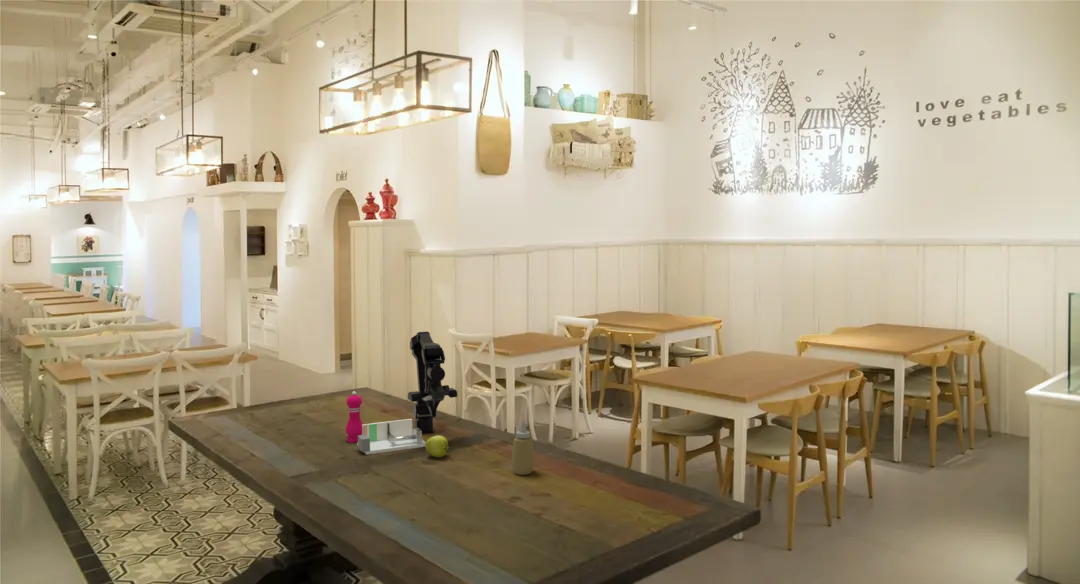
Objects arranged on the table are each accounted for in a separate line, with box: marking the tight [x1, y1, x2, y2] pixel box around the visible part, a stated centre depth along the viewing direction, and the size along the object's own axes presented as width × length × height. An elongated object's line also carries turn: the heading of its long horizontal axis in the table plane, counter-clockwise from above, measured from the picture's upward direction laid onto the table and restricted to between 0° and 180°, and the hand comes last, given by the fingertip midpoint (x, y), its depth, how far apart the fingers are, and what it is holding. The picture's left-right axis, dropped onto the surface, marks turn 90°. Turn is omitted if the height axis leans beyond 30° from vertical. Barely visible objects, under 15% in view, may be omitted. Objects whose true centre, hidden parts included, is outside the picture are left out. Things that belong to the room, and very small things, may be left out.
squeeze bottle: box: [511, 421, 536, 476], centre depth 267 cm, size 8×8×18 cm
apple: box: [424, 435, 450, 458], centre depth 286 cm, size 8×9×8 cm
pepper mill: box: [345, 390, 364, 444], centre depth 308 cm, size 7×7×20 cm
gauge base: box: [356, 418, 426, 456], centre depth 300 cm, size 26×13×8 cm, turn 117°
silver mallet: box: [387, 424, 423, 444], centre depth 302 cm, size 12×11×6 cm
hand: (433, 416), depth 304 cm, fingers closed
